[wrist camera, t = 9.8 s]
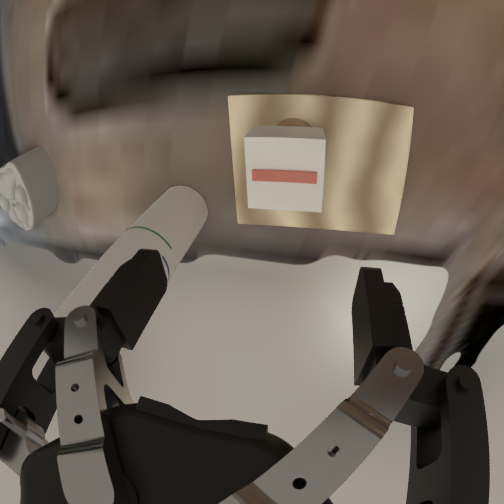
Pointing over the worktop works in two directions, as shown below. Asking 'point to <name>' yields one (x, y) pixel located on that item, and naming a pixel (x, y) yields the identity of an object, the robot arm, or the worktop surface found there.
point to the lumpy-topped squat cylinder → (29, 188)
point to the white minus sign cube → (285, 168)
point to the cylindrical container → (146, 243)
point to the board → (333, 158)
